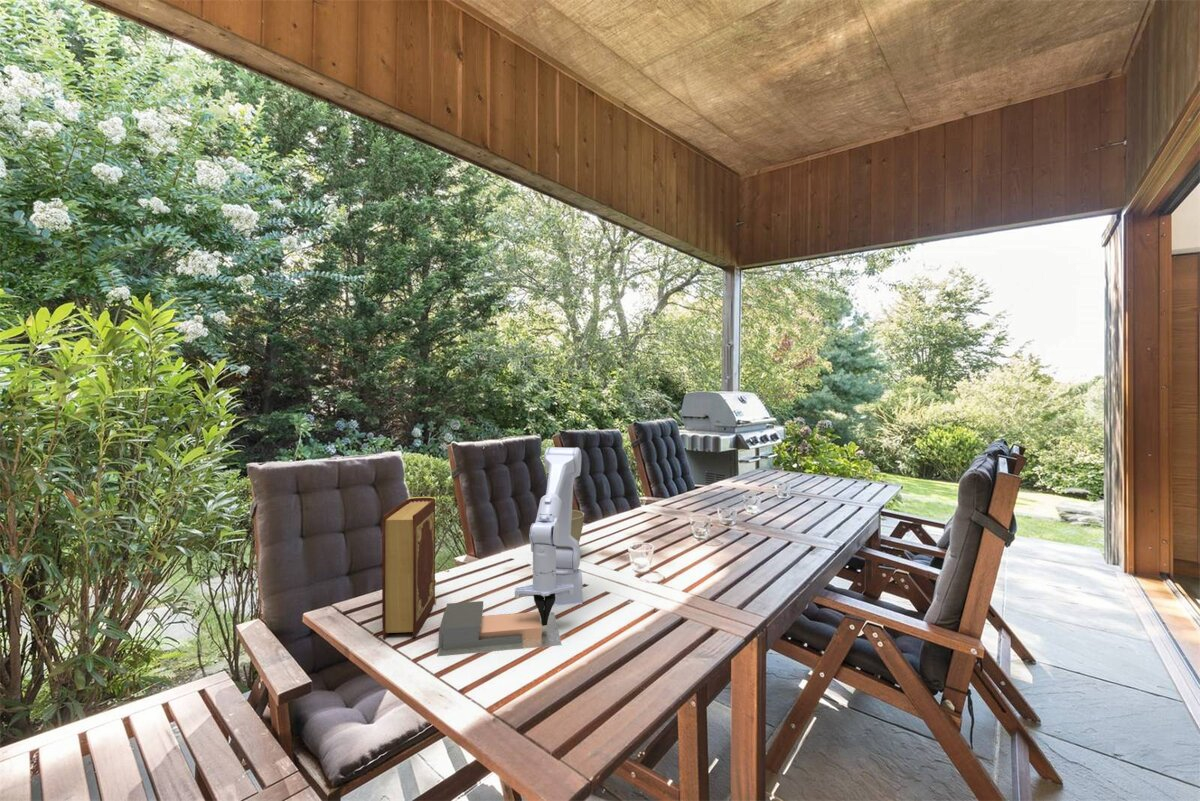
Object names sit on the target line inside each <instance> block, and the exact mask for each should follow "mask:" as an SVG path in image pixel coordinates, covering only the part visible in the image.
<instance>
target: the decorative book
mask: <svg viewBox="0 0 1200 801" xmlns="http://www.w3.org/2000/svg"><path fill="white" fill-rule="evenodd" d="M436 504H437V498H436V497H434V496H414V497H408V498H406V499H405V500H404V501H402V502H401V503H399V504H398V505H397V506H395V507H393V508H392V509H390V510H389V511H387V512H386V513H385V514H384V515H383V518H382V533H381V535H382V537H381V540H382V542H381V550H382V551H381V555H382V557H381V559H382V560H381V568H382V569H381V571H382V572H381V576H382V578H381V580H382V581H381V585H382V586H381V590H382V591H381V594H382V596H381V598H382V599H381V600H382V601H381V602H382V604H381V605H382V606H381V608H382V609H381V610H382V611H381V616H382V617H381V618H382V621H381V622H382V637H383V638H382V639H383V640H384V641H385V640H386V639H387V636H388V635H389V633H390V634H393V633H395V634H396V633H397V634H398V633H412V639H413V638H414V637H415V638H416V636H417V635H418V634H417V633H419V632H420V631H419V630H421V629H422V627H423V625H424V624H425V621H426V620H427V619H428V617H429V615H430V614H431V612H432V610H433V608H434V606H435V605H436V604H437V598H436V585H437V580H436V570H437V565H436V536H437V532H436V522H437V517H436ZM415 638H414V639H415Z"/></svg>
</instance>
